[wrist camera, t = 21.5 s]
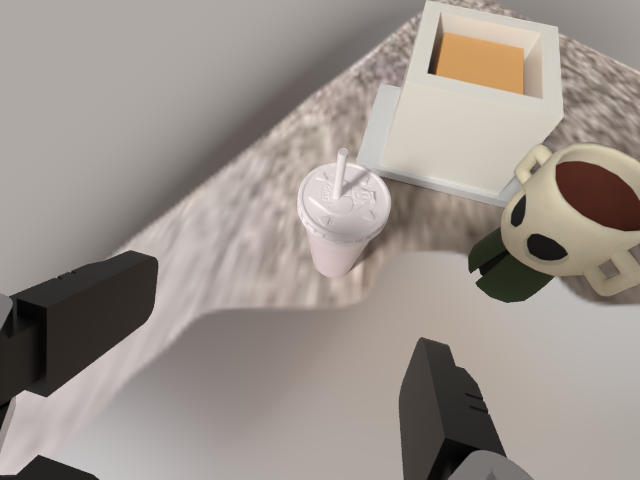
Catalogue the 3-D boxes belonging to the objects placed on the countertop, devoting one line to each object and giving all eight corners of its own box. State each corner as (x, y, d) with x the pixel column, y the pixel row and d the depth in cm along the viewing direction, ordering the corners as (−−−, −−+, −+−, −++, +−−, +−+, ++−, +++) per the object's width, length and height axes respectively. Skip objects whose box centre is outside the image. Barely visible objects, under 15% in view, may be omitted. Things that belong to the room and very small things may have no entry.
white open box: (519, 122, 41) (585, 29, 32) (517, 211, 35) (598, 129, 26) (378, 90, 43) (401, -9, 33) (354, 169, 37) (372, 77, 27)
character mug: (438, 230, 34) (508, 130, 22) (502, 214, 35) (599, 111, 24) (496, 341, 29) (622, 285, 18) (567, 317, 30) (728, 251, 19)
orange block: (485, 113, 38) (523, 48, 32) (481, 162, 35) (522, 101, 29) (420, 98, 39) (444, 31, 33) (410, 145, 36) (434, 81, 29)
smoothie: (297, 228, 33) (295, 111, 21) (364, 227, 34) (400, 111, 21) (298, 293, 30) (297, 200, 18) (372, 290, 31) (419, 198, 18)
